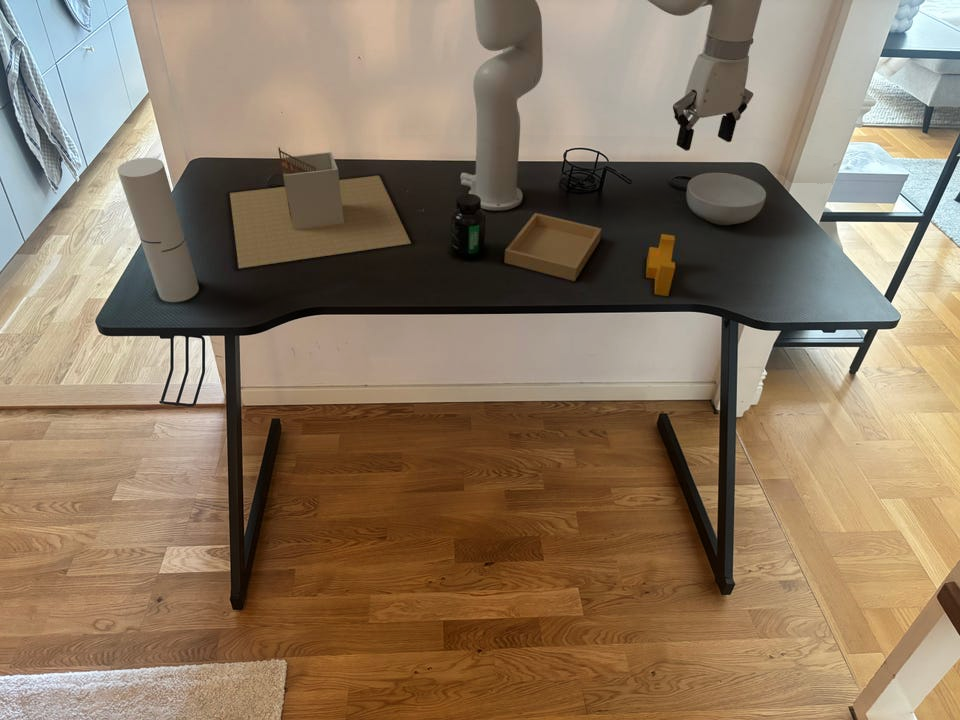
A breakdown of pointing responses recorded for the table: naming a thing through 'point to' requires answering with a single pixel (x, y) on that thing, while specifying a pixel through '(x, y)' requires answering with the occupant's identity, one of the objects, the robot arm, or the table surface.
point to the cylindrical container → (159, 228)
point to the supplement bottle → (468, 227)
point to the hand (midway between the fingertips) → (703, 143)
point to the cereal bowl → (724, 198)
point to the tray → (553, 246)
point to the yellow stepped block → (661, 265)
